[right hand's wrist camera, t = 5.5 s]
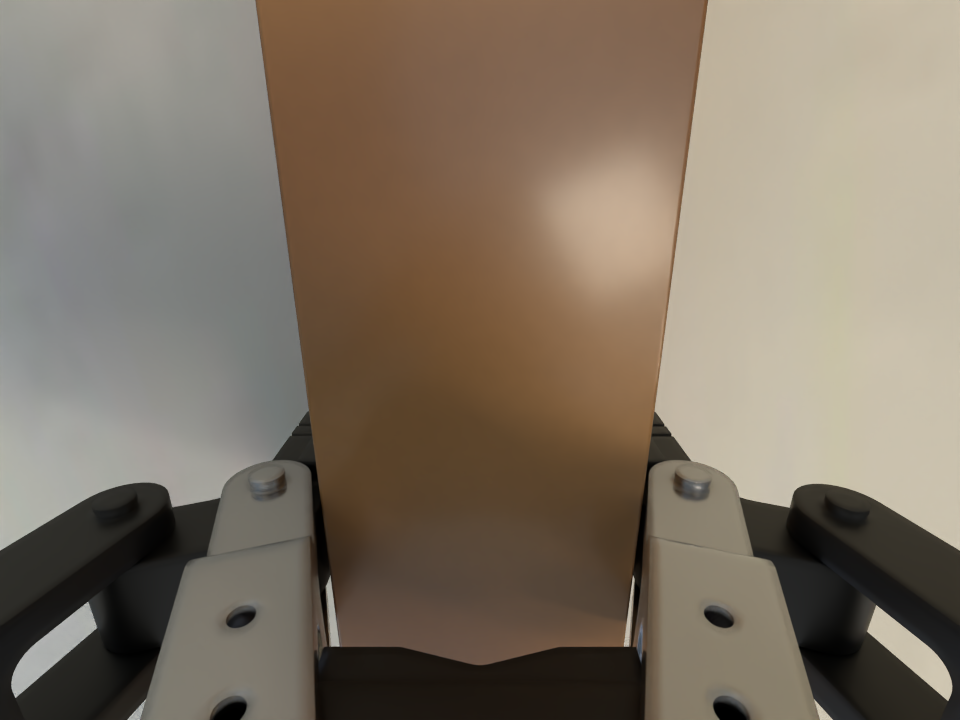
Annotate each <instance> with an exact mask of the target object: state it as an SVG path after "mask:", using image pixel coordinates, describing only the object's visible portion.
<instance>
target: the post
mask: <svg viewBox="0 0 960 720" xmlns="http://www.w3.org/2000/svg"><path fill="white" fill-rule="evenodd" d="M707 4H708V0H256V8H257V16H258V23H259V31H260V39H261V46H262V54H263V62H264V69H265V77H266V85H267V92H268V100H269V108H270V115H271V123H272V131H273V138H274V146H275V154H276V161H277V169H278V177H279V184H280V192H281V200H282V207H283V215H284V223H285V230H286V238H287V246H288V253H289V261H290V268H291V276H292V284H293V291H294V299H295V307H296V314H297V322H298V330H299V337H300V345H301V353H302V360H303V368H304V376H305V383H306V391H307V399H308V406H309V414H310V422H311V429H312V437H313V445H314V452H315V460H316V468H317V475H318V483H319V491H320V498H321V506H322V514H323V521H324V529H325V537H326V544H327V552H328V560H329V567H330V575H331V583H332V590H333V598H334V606H335V613H336V621H337V628H338V636H339V644H340V647H404V648H408V649H412V650H416V651H420V652H424V653H428V654H432V655H436V656H440V657H444V658H449V659H453V660H457V661H461V662H465V663H469V664H474V665H486V664H491V663H495V662H499V661H503V660H507V659H511V658H516V657H520V656H524V655H528V654H532V653H536V652H540V651H544V650H548V649H552V648H556V647H624V639H625V631H626V624H627V616H628V608H629V601H630V593H631V585H632V578H633V570H634V563H635V555H636V547H637V540H638V532H639V524H640V517H641V509H642V501H643V494H644V486H645V478H646V471H647V463H648V455H649V448H650V440H651V432H652V425H653V417H654V410H655V402H656V394H657V387H658V379H659V371H660V364H661V356H662V348H663V341H664V333H665V325H666V318H667V310H668V302H669V295H670V287H671V279H672V272H673V264H674V257H675V249H676V241H677V234H678V226H679V218H680V211H681V203H682V195H683V188H684V180H685V172H686V165H687V157H688V149H689V142H690V134H691V126H692V119H693V111H694V104H695V96H696V88H697V81H698V73H699V65H700V58H701V50H702V42H703V35H704V27H705V19H706V12H707Z"/></svg>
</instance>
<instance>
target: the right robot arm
mask: <svg viewBox="0 0 960 720" xmlns="http://www.w3.org/2000/svg"><path fill="white" fill-rule="evenodd" d="M633 576H634V578H635V582H634V589H633V596H632V608H631V623H630V638H629V647H556V648H552V649H548V650H544V651H540V652H536V653H532V654H528V655H524V656H520V657H516V658H511V659H507V660H503V661H499V662H495V663H491V664H486V665H474V664H469V663H465V662H461V661H457V660H453V659H449V658H444V657H440V656H436V655H432V654H428V653H424V652H420V651H416V650H412V649H408V648H404V647H331V638H330V623H329V608H328V596H327V589H326V585H327V583H328V580H329V577H330V567H329V560H328V552H327V544H326V537H325V529H324V521H323V514H322V506H321V498H320V491H319V483H318V475H317V468H316V460H315V452H314V445H313V437H312V429H311V422H310V414H309V411H308V412H307V413H306V415H305V416H304V417H303V419H302V420H301V422H300V423H299V426H297V427H296V429H295V430H294V431H293V433H292V436H290V437H289V438H288V440H287V441H286V442H285V444H284V445H283V447H282V448H281V449H280V451H279V452H278V454H277V455H276V456H275V458H274V459H273V460H272V461H268V462H263V463H259V464H256V465H253V466H250V467H248V468H246V469H244V470H242V471H240V472H238V473H236V474H235V475H234V476H232V477H231V478H230V479H229V480H228V481H227V482H226V484H225V485H224V487H223V490H222V494H221V498H219V499H214V500H210V501H205V502H199V503H194V504H189V505H183V506H178V507H173V508H172V504H171V500H170V496H169V493H168V490H167V489H166V488H165V487H163V486H161V485H159V484H155V483H133V484H127V485H122V486H118V487H115V488H111V489H108V490H105V491H103V492H100V493H98V494H96V495H93V496H91V497H89V498H88V499H86V500H84V501H82V502H80V503H79V504H77V505H75V506H74V507H72V508H70V509H69V510H67V511H65V512H64V513H62V514H61V515H59V516H57V517H56V518H54V519H52V520H51V521H49V522H47V523H46V524H44V525H42V526H41V527H39V528H37V529H36V530H34V531H32V532H31V533H29V534H27V535H26V536H24V537H22V538H21V539H19V540H17V541H16V542H14V543H12V544H11V545H9V546H7V547H6V548H4V549H2V550H1V551H0V720H127V719H128V718H129V717H130V716H131V715H132V714H133V712H134V711H135V710H136V709H137V708H138V707H139V706H140V705H141V704H142V703H143V702H144V700H145V699H146V701H145V705H144V708H143V712H142V715H141V719H140V720H820V718H819V715H818V712H817V708H816V705H815V701H814V699H815V700H816V702H817V703H818V704H819V705H820V706H821V707H822V708H823V709H824V710H825V711H826V712H827V714H828V715H829V716H830V717H831V718H832V719H833V720H960V551H959V550H958V549H956V548H954V547H953V546H951V545H949V544H948V543H946V542H944V541H943V540H941V539H939V538H938V537H936V536H934V535H933V534H931V533H929V532H928V531H926V530H924V529H923V528H921V527H919V526H918V525H916V524H914V523H913V522H911V521H909V520H908V519H906V518H904V517H903V516H901V515H900V514H898V513H896V512H895V511H893V510H891V509H890V508H888V507H886V506H885V505H883V504H881V503H880V502H878V501H876V500H874V499H872V498H870V497H868V496H866V495H864V494H861V493H858V492H856V491H853V490H850V489H846V488H843V487H838V486H833V485H826V484H809V485H804V486H801V487H799V488H797V489H796V490H795V492H794V494H793V498H792V502H791V505H790V508H788V507H782V506H777V505H772V504H766V503H761V502H756V501H751V500H747V499H743V498H740V497H739V494H738V490H737V487H736V485H735V484H734V482H733V481H732V480H731V479H730V478H729V477H728V476H726V475H725V474H724V473H722V472H720V471H718V470H716V469H714V468H712V467H710V466H707V465H704V464H701V463H697V462H692V461H691V460H690V459H689V457H688V456H687V455H686V453H685V452H684V451H683V449H682V448H681V446H680V445H679V444H678V442H677V441H676V440H675V438H674V437H672V436H671V433H670V431H669V430H668V429H667V427H664V423H663V422H662V420H661V419H660V418H659V416H658V415H657V414H656V412H654V417H653V425H652V432H651V440H650V448H649V455H648V463H647V471H646V478H645V486H644V494H643V501H642V509H641V517H640V524H639V532H638V540H637V547H636V555H635V563H634V570H633ZM87 602H89V605H90V608H91V611H92V613H93V616H94V619H95V622H96V625H97V629H96V630H95V631H93V632H92V633H91V634H90V635H89V636H88V637H86V638H85V639H84V640H83V641H82V642H81V643H79V644H78V645H77V646H76V647H75V648H74V649H72V650H71V651H70V652H69V653H68V654H67V655H65V656H64V657H63V658H62V659H61V660H60V661H58V662H57V663H56V664H55V665H54V666H53V667H51V668H50V669H49V670H48V671H47V672H46V673H44V674H43V675H42V676H41V677H40V678H39V679H37V680H36V681H35V682H34V683H33V684H32V685H30V686H29V687H28V688H27V689H26V690H25V691H23V692H22V693H21V694H20V695H19V696H18V697H16V698H15V697H14V694H13V692H12V689H11V680H12V676H13V673H14V670H15V668H16V666H17V664H18V663H19V661H20V659H21V658H22V657H23V655H24V654H25V653H26V652H27V651H28V650H29V649H30V648H31V647H32V646H33V645H34V644H35V643H36V642H38V641H39V640H40V639H41V638H43V637H44V636H45V635H46V634H48V633H49V632H50V631H51V630H53V629H54V628H55V627H56V626H58V625H59V624H60V623H61V622H63V621H64V620H65V619H67V618H68V617H69V616H70V615H72V614H73V613H74V612H75V611H77V610H78V609H79V608H80V607H82V606H83V605H84V604H85V603H87ZM876 605H877V606H878V607H880V608H881V609H882V610H883V611H885V612H886V613H887V614H888V615H890V616H891V617H892V618H893V619H895V620H896V621H897V622H899V623H900V624H901V625H902V626H904V627H905V628H906V629H907V630H909V631H910V632H911V633H912V634H914V635H915V636H916V637H917V638H919V639H920V640H921V641H922V642H924V643H925V644H926V645H928V646H929V647H930V648H931V649H932V650H933V651H934V652H935V653H936V654H937V655H938V656H939V658H940V659H941V660H942V661H943V663H944V665H945V666H946V668H947V670H948V672H949V674H950V677H951V680H952V685H953V687H952V694H951V697H950V699H949V701H947V700H946V699H945V698H944V697H942V696H941V695H940V694H939V693H938V692H937V691H935V690H934V689H933V688H932V687H931V686H930V685H928V684H927V683H926V682H925V681H924V680H923V679H921V678H920V677H919V676H918V675H917V674H916V673H914V672H913V671H912V670H911V669H910V668H909V667H907V666H906V665H905V664H904V663H903V662H902V661H900V660H899V659H898V658H897V657H896V656H895V655H893V654H892V653H891V652H890V651H889V650H888V649H886V648H885V647H884V646H883V645H882V644H881V643H879V642H878V641H877V640H876V639H875V638H874V637H872V636H871V635H870V634H869V633H868V632H867V630H868V627H869V624H870V621H871V618H872V615H873V613H874V610H875V607H876Z"/></svg>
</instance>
